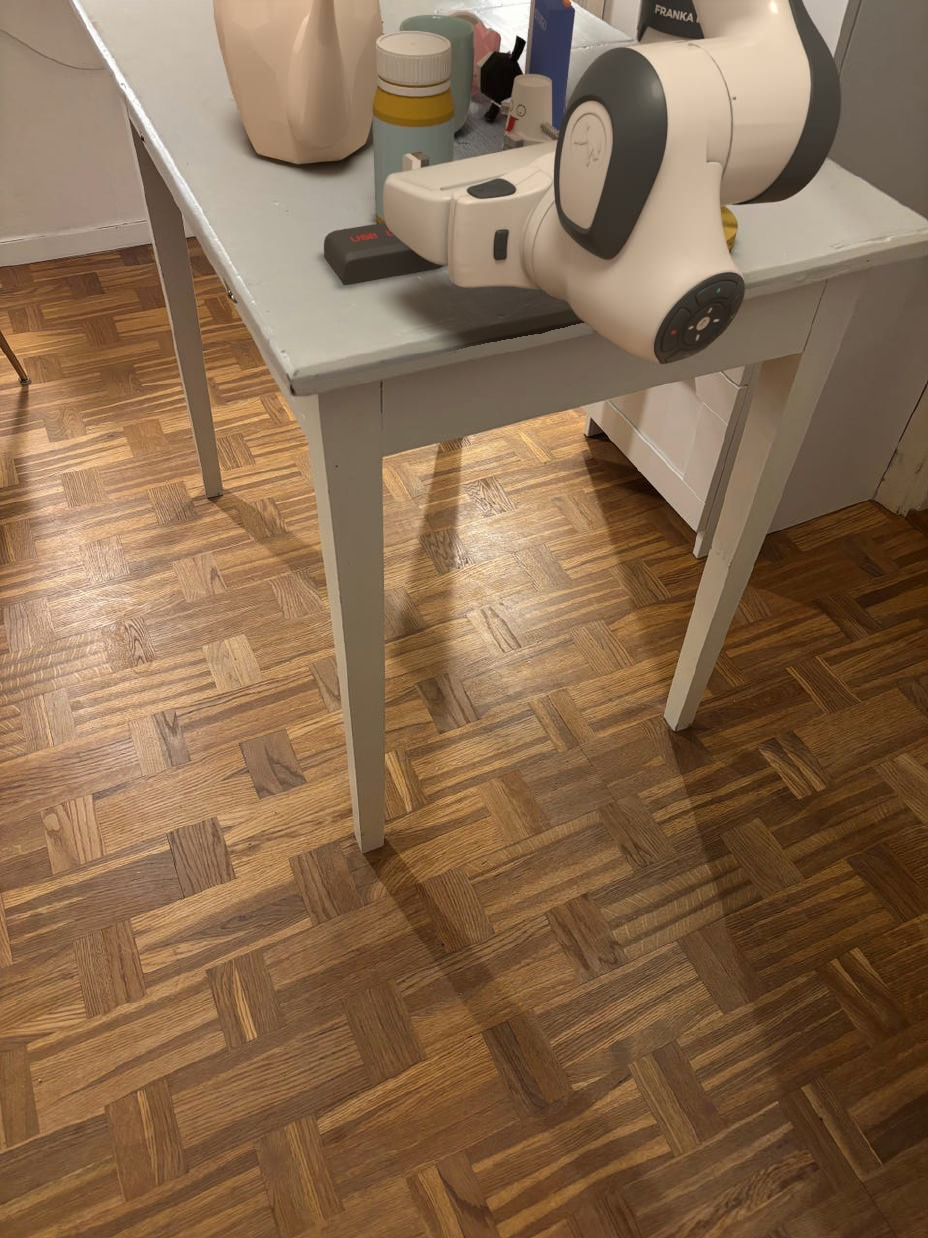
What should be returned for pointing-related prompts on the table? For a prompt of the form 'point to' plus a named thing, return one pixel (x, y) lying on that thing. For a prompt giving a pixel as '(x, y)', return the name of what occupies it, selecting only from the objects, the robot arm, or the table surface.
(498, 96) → the toy
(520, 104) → the toy figure
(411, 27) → the cup
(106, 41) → the table surface
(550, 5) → the walkman
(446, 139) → the bottle
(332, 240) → the usb drive
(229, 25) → the watering can
